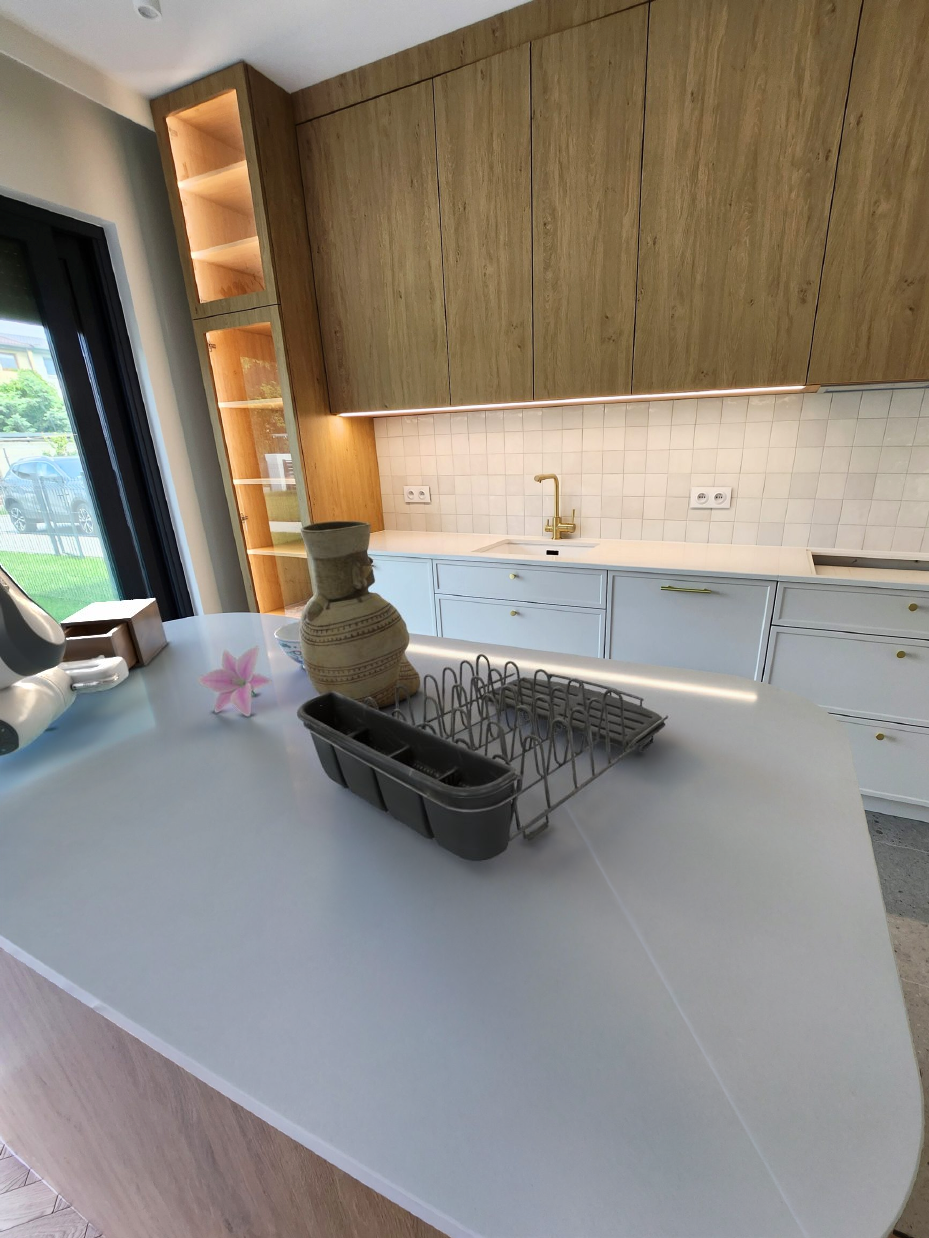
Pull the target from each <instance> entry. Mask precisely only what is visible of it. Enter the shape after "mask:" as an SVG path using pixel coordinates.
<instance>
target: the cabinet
mask: <svg viewBox="0 0 929 1238" xmlns="http://www.w3.org/2000/svg"><path fill="white" fill-rule="evenodd" d="M124 621H128V625H129V628H130V631H131V635H132V638H133V642H134V645H135V648H136V652H137V655H138V658H139V660H138V661H136V662H135V663H134V664H133V665H132V666H131V667H130V668H129V669H131V668H132V669H133V668H141V667H146V666H147V665H148V664H149V663H150V662H151V661H152V660H153V659H154V658H155V657H156V656H157V655H158V654H159V653H160V652H161V651H162V649H164V648H165V647H166V646H167V645H168V639H167V636H166V631H165V629H164V628H165V627H164V625H163V621H162V617H161V613H160V610H159V606H158V603H157V598H146V599H133V600H132V599H131V600H121V601H120V600H119V601H106V602H94V603H93V602H92V603H91V604H89V605H88V606H86V607H84V608H83V609H81V610H79V611H78V612H76V613H74V614H73V615H71V616H69V617H67V618H66V619H64V620H62V621H61V622H59V624H60V626H61V627H62V629H63V630H64V631H65V630H66V629H68V628H70V627H71V626H76V625H88V624H100V623H112V622H124Z"/></svg>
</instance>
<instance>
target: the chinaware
mask: <svg viewBox="0 0 929 1238" xmlns="http://www.w3.org/2000/svg"><path fill="white" fill-rule="evenodd" d="M299 628H300V620H299V621H294V622H291V623H287V624H285V625H282V626H281V627H279V628H278V629H276V630H275V632H274V638H275V640H276V642H277V644H278V646H279V648H280V650H282V652H283V653H284V654H285V655H286V656H287V657H288V658H289V659H291V660H292V661H293V662H295V663H297V664H300V665H302V667H303V669H304V670H306V669H305V666H304V663H303V658H302V653H301V646H300V637H299Z"/></svg>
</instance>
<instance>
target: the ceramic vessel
mask: <svg viewBox="0 0 929 1238" xmlns="http://www.w3.org/2000/svg"><path fill="white" fill-rule="evenodd" d="M371 527H372V525H371V523H369V522H366V521H358V520H332V521H331V520H329V521H322V522H321V521H320V522H314V523H311V524H308V525H305V526H302V527H301V528H300V535H301V537H302V540H303V543H304V546H305V548H306V551H307V553H308V555H309V557H310V558H311V562H312V563H311V564H312V568H313V575H314V585H315V590H316V591H315V593H314V595H313V596H312V597H311V598H310V599H309V600H308V601H307V603H306V604H305V606H304V607H303V610H302V612H301V614H300V619H299V621H300V628H299V637H300V646H301V653H302V658H303V663H304V666H305V669H304V670H305V672H306V674H307V676H308V679H309V681H310V683H311V684H312V686H313V688H314V689H315V691H316V692H317V694H318V696H319V695H321V694H324V693H327V692H333V691H335V692H337V693H339V694H342V695H344V696H346V697H348V698H351V699H353V700H355V701H357V702H360V703H362V704H364V701H365V699H366V698H367V697H371V698H372V699H373V700H375V702H376V704H377V706H378V709H382V708H384V707H389V706H391V705H394V704H396V687H397V686H399V685H402V686H404V687H405V688H406V689H407V691H408V692H409V695H410V697H412V696H414V694H416V693H417V692H418V691H419V689H420V687H421V676H420V674H419V672H418V671H417V670H416V668H415V667H414V666H413V665H412V663H411V662H410V661H409V660H408V657H407V655H406V650H407V649H408V646H409V644H410V634H409V631H408V626H407V624H406V621H405V620H404V618H403V617H402V615H401V614H400V613H401V612H399V610H398V609H397V608H396V607H395V606H394V605H393V604H392V603H391V602H390V601H388V600H386V599H385V598H383V597H382V596H381V595H380V594H379V593H378V592H372V591H371V592H370V591H369V588H370V587H371V586H373V585H374V584H375V583H376V578H375V574H374V569H373V566H372V565H373V563H374V559H373V558H372V557H371V556H369V554H368V550H369V546H370V538H371V529H372V528H371ZM406 699H407V695H406V693H405V691H404V690H403V689H402V688H399V689H398V703H399V702H401V701H403V700H406ZM407 700H408V699H407ZM367 706H369V707H371V708H374V706H373V703H372V702H371V701H367ZM374 709H375V708H374Z"/></svg>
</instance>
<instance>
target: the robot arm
mask: <svg viewBox="0 0 929 1238" xmlns="http://www.w3.org/2000/svg"><path fill="white" fill-rule="evenodd" d="M65 649H66V634H65V632H64V630H63V629H62V627H61V625H60V622H58V620H56V619H55V618H54V617H53V615H51V614H50V613H49V612H48V611H46V610H45V608H43V607H42V606H41V605H39V603H37V602H36V601H35V600H34V599H33V598H32V597H31V596H30V595H29V594H28V593H27V592H26V591H25V590H24V589H23V588H22V586H20V584H19V583H18V581H16V580H15V578H13V577H12V575H11V574H10V573H9V572H8V571H7V569H6V568H5V567H4V566H2V564H1V563H0V757H1V756H6V755H10V754H13V753H16V752H18V751H20V750H22V749H24V748H25V747H27V746H28V745H30V743H33V742H34V741H35V740H36V739H37V738H38V737H40V735H42V734H43V733H44V732H45V731H46V730H47V729H48V728H49V726H50V725H51V723H53V722H54V721H56V720H57V719H58V718H59V717H60V716H62V714H63V713H64V712H65V711H66V710H68V708H69V707H70V706H71V705H73V704H74V702H75V700H76V698H77V694H86V693H94V692H102V691H107V690H110V689H112V688H115V687H116V686H118V685H119V684H120V683H122V682H123V681H124V680H126V679H127V678H128V677H129V674H130V672H129V669H128V668H127V664H126V662H125V660H124V659H123V658H121V657H112V658H105V657H104V655H99V656H93V657H92V658H91V660H82V661H72V662H62V663H61V661H62V658H63V656H64V653H65Z"/></svg>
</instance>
